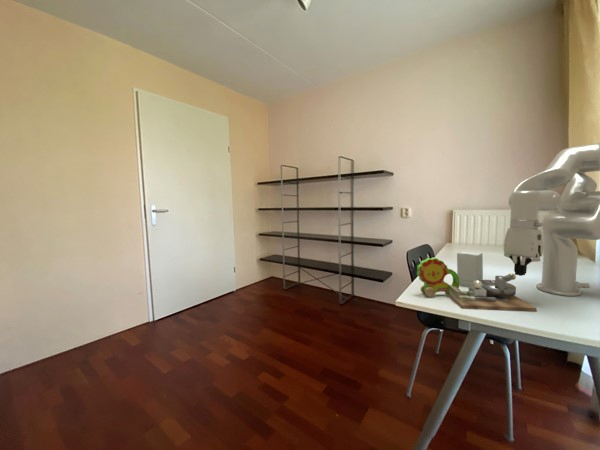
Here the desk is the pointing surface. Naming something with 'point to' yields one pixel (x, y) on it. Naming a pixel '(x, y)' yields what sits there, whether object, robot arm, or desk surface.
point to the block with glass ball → (477, 289)
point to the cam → (500, 286)
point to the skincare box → (469, 267)
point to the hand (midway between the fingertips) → (519, 274)
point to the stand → (488, 301)
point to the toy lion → (435, 276)
